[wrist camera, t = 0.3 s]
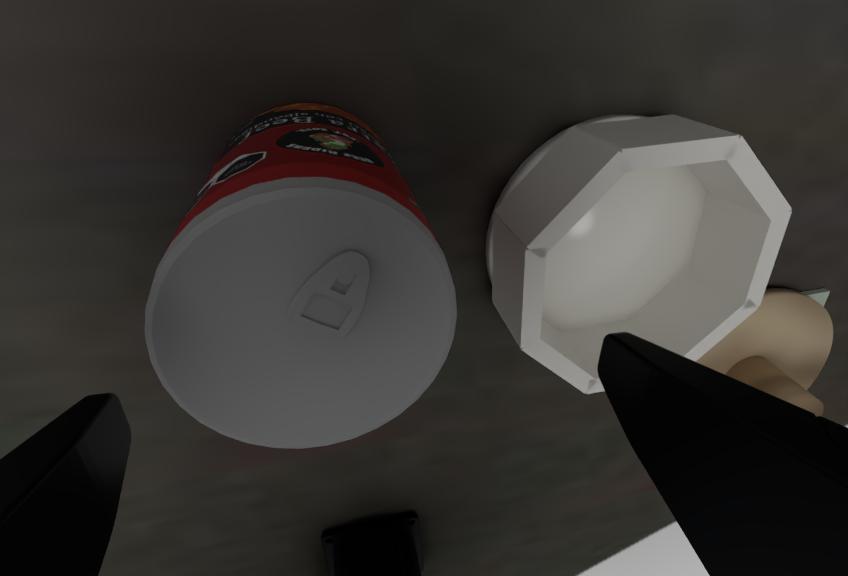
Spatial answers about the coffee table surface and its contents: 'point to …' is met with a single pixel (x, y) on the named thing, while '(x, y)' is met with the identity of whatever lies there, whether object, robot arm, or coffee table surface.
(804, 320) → the lid
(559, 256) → the bowl
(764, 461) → the robot arm
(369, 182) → the canned food
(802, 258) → the coffee table surface
